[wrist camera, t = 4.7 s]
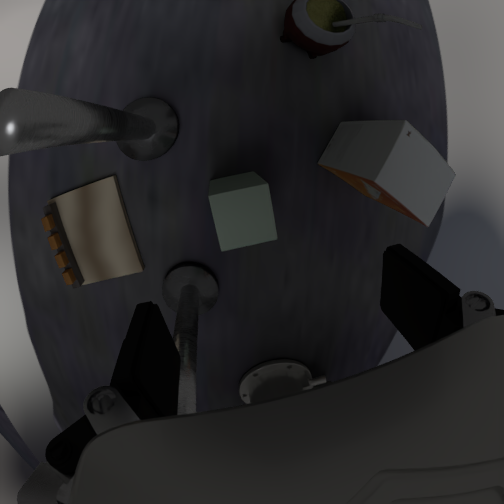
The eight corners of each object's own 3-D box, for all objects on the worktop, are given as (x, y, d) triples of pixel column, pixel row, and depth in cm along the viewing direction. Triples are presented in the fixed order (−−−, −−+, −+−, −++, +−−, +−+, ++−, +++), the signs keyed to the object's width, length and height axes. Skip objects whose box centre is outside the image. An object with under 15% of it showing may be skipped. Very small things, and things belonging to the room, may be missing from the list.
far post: (210, 256, 34) (215, 437, 12) (223, 303, 37) (242, 477, 15) (156, 268, 34) (104, 441, 12) (173, 313, 37) (153, 482, 15)
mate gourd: (267, 16, 24) (305, -51, 10) (327, 11, 24) (390, -41, 10) (287, 69, 27) (342, 25, 13) (346, 61, 27) (424, 29, 13)
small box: (315, 164, 32) (372, 181, 20) (340, 120, 30) (406, 117, 18) (364, 197, 34) (429, 229, 22) (387, 156, 32) (458, 173, 20)
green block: (253, 171, 31) (268, 183, 23) (261, 212, 33) (277, 239, 25) (209, 180, 31) (208, 196, 23) (219, 222, 33) (221, 251, 25)
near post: (172, 92, 26) (78, -7, 4) (184, 150, 29) (104, 184, 7) (114, 110, 26) (-50, 87, 4) (126, 167, 29) (-27, 241, 7)
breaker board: (116, 174, 29) (104, 179, 25) (144, 267, 34) (138, 282, 30) (51, 199, 28) (35, 206, 25) (81, 282, 33) (70, 296, 30)
